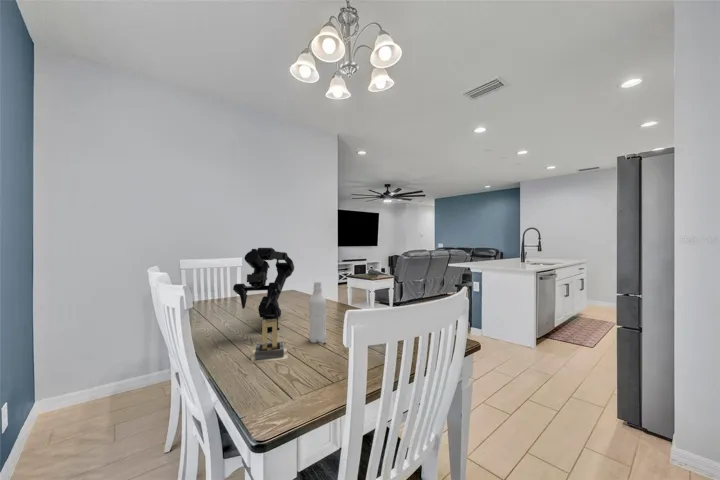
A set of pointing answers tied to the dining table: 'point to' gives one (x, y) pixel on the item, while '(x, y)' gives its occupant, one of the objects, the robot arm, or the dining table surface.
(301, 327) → the dining table surface
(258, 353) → the grey square tray
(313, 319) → the water bottle
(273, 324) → the brass link
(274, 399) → the dining table surface
